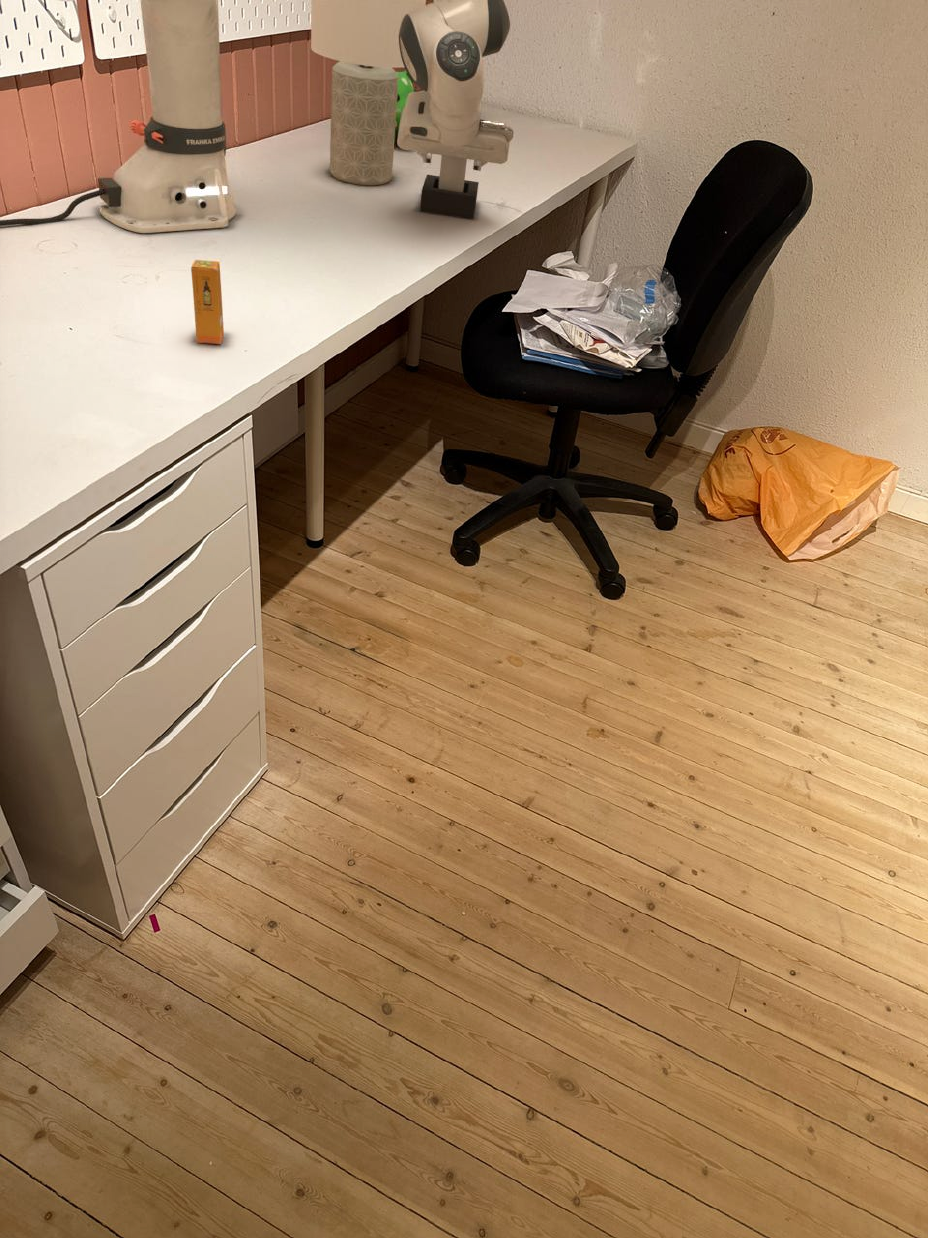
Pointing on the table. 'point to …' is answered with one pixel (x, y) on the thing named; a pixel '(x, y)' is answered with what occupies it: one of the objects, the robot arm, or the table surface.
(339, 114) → the lamp
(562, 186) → the table surface
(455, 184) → the beverage can
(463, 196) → the box socket
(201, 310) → the supplement box
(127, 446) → the table surface
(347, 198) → the table surface
